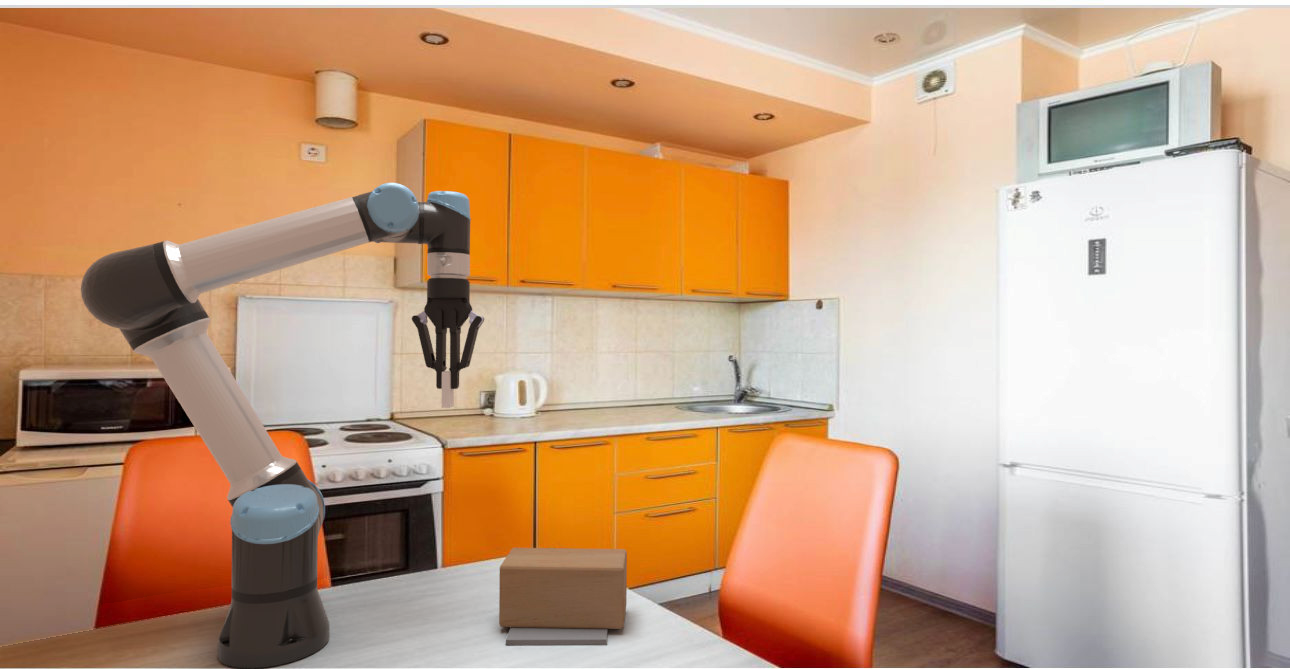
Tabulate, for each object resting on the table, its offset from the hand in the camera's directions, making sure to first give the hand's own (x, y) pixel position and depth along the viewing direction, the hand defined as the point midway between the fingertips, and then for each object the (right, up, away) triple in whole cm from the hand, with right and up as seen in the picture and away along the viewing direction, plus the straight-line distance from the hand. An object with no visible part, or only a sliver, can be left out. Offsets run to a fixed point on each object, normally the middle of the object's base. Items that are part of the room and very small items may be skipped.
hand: (447, 406), depth 131 cm
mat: (+22, -35, -11) cm, 42 cm away
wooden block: (+13, -29, -12) cm, 33 cm away
